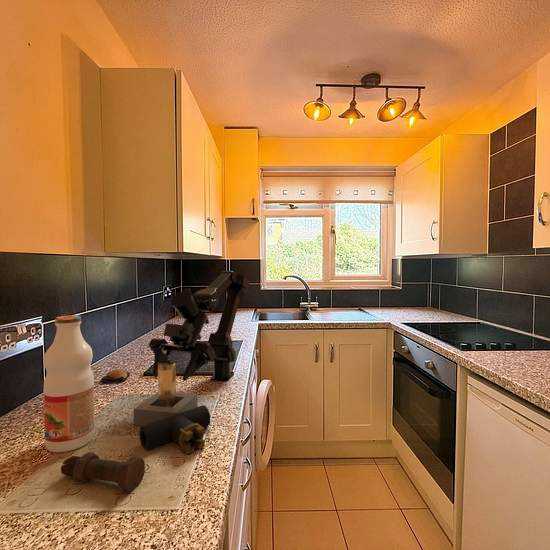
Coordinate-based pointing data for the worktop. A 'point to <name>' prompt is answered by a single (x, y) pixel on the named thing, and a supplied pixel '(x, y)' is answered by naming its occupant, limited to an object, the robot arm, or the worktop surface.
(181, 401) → the docking block
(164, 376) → the brown round cylinder
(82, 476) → the bolt
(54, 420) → the fruit juice
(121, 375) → the bread roll
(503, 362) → the worktop surface
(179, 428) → the pipe connector
